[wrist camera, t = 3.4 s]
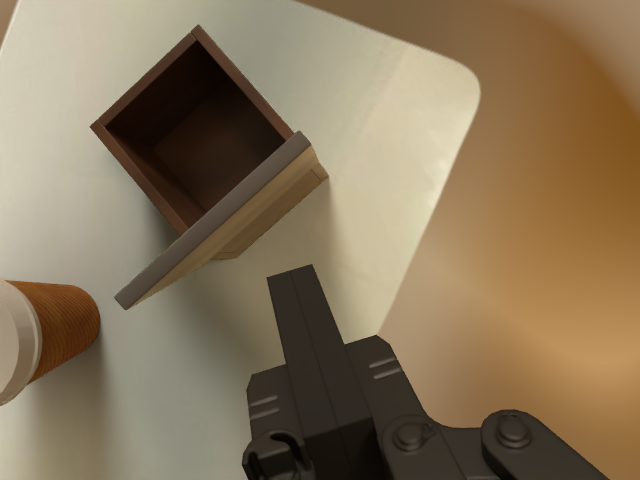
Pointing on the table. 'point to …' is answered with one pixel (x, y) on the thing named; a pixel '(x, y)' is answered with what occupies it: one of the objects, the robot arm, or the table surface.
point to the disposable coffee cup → (41, 330)
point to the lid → (224, 220)
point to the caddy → (199, 138)
